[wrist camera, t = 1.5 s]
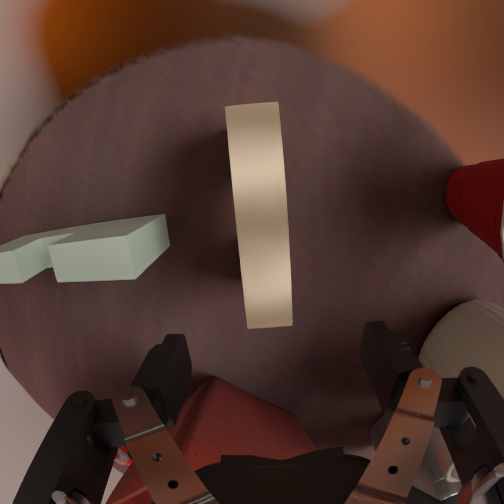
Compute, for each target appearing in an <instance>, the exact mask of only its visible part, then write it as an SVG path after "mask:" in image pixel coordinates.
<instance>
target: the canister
mask: <svg viewBox="0 0 504 504" xmlns="http://www.w3.org/2000/svg"><path fill="white" fill-rule="evenodd" d="M418 360H419V361H420V363H421V364H422V365H423V367H424V368H430V369H433V370H435V371H436V372H438V373H439V375H440V376H441V378H458V376H459V374H460V372H461V370H462V369H464V368H466V367H477V368H479V369H481V370H483V371H484V372H485V373H486V374H487V376H488V377H489V379H490V380H491V381H492V383H493V384H494V386H495V387H496V388H497V390H498V391H499V393H500V394H501V396H502V397H503V399H504V308H502V307H500V306H498V305H496V304H494V303H491V302H488V301H485V300H472V301H467V302H465V303H462V304H460V305H459V306H457V307H454V308H453V310H451V311H449V312H448V313H447V314H446V315H445V316H443V317H442V319H441V320H440V321H439V322H437V324H436V325H435V326H434V327H433V328H432V330H431V332H430V333H429V334H428V336H427V338H426V340H425V341H424V343H423V346H422V348H421V350H420V354H419V356H418ZM470 418H471V416H470ZM471 420H472V418H471ZM472 422H473V420H472ZM473 424H474V426H475V423H474V422H473ZM475 428H476V426H475ZM435 429H436V432H437V434H438V437H439V440H440V443H441V447H442V450H443V453H444V455H445V458H446V461H447V464H448V468H447V470H446V473H445V479H446V480H447V481H448V482H458V481H460V479H459V476H458V474H457V471H456V468H455V466H454V463H453V461H452V458H451V455H450V453H449V450H448V448H447V446H446V443H445V441H444V438H443V436H442V434H441V431H440V429H439V427H435Z"/></svg>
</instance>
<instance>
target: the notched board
mask: <svg viewBox="0 0 504 504" xmlns="http://www.w3.org/2000/svg"><path fill="white" fill-rule="evenodd" d="M169 246H170V242H169V236H168V229H167V223H166V216H165V214H159V215H151V216H143V217H136V218H129V219H121V220H114V221H108V222H101V223H94V224H88V225H82V226H76V227H70V228H64V229H58V230H53V231H47V232H42V233H36V234H31V235H26V236H22V237H20V238H17V239H15V240H12V241H10V242H8V243H6V244H3V245H1V246H0V284H8V283H23V282H25V281H26V280H28V279H30V278H31V277H33V276H34V275H36V274H38V273H39V272H41V271H43V270H44V269H46V268H52V267H53V269H54V272H55V276H56V279H57V282H81V281H106V280H128V279H136V278H137V277H138V276H139V275H140V274H141V273H142V272H143V271H144V270H145V269H146V268H148V267H149V266H150V265H151V264H152V263H153V262H154V261H155V260H156V259H157V258H158V257H159V256H160V255H161V254H162V253H163V252H164V251H165V250H166V249H167V248H168V247H169Z"/></svg>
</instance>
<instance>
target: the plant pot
mask: <svg viewBox="0 0 504 504" xmlns="http://www.w3.org/2000/svg"><path fill="white" fill-rule="evenodd" d="M166 429H167V430H168V432H169V434H170V435H171V437H172V439H173V440H174V442H175V443H176V445H177V447H178V448H179V450H180V451H181V453H182V454H183V456H184V457H185V459H186V460H187V462H188V463H189V465H190V466H191V467H192V469H193V470H194V471H196V470H198V469H200V468H202V467H204V466H207V465H210V464H214V463H218V462H220V460H221V455H254V456H259V457H265V458H271V459H278V460H285V459H289V458H292V457H296V456H299V455H302V454H305V453H308V452H312V451H317V448H316V447H315V445H314V444H313V442H312V440H311V439H310V438H309V436H308V435H307V433H306V432H305V430H304V429H303V427H302V426H301V425H300V423H299V422H298V421H297V419H296V418H295V417H294V415H293V414H291V413H289V412H286V411H284V410H282V409H280V408H278V407H275V406H273V405H271V404H269V403H267V402H265V401H263V400H261V399H259V398H257V397H255V396H252V395H250V394H248V393H246V392H244V391H243V390H241V389H239V388H237V387H235V386H233V385H231V384H229V383H227V382H226V381H224V380H222V379H220V378H217V377H211V378H208V379H207V380H206V381H205V382H204V383H203V384H202V385H201V386H200V387H199V388H198V389H197V390H196V391H195V392H194V393H193V394H192V395H191V396H190V397H189V398H188V399H187V400H186V401H185V402H184V403H183V404H182V405H181V409H180V412H179V415H178V419H177V422H176V426H175V427H173V426H166ZM152 502H153V499H152V497H151V495H150V493H149V492H148V490H147V488H146V486H145V484H144V482H143V480H142V478H141V476H140V474H139V472H138V470H137V468H136V466H135V463H134V461H133V462H132V463H131V465H130V466H129V468H128V469H127V470H126V472H125V473H124V475H123V476H122V478H121V479H120V481H119V482H118V484H117V485H116V487H115V489H114V490H113V492H112V494H111V495H110V497H109V499H108V500H107V502H106V504H150V503H152Z"/></svg>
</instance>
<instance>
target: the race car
mask: <svg viewBox="0 0 504 504" xmlns="http://www.w3.org/2000/svg"><path fill="white" fill-rule="evenodd" d="M114 462H116V463H118V464H120V465H124V466H130V465H131V463H132V462H133V459H132V457H131V455H130V452H129V451H128V449H127V448H126V447H119V448H118V451H117V454H116V457H115V460H114Z"/></svg>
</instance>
